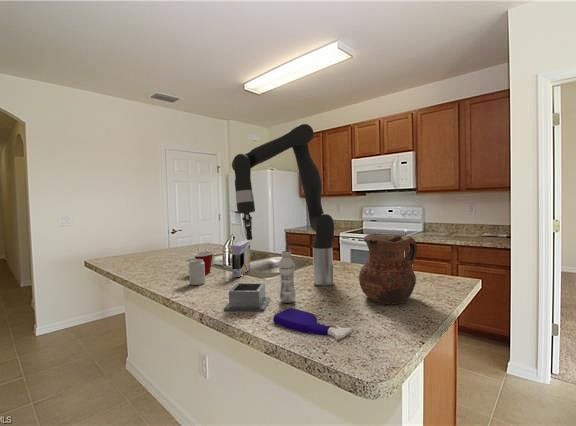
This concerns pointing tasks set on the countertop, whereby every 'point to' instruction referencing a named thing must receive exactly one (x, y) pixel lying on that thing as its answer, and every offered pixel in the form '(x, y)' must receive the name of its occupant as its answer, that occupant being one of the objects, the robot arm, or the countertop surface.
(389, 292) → the jug
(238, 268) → the cake pan box
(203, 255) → the plastic cup
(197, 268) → the can
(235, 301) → the rack socket
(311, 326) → the spray bottle
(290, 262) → the plastic bottle
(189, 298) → the countertop surface
